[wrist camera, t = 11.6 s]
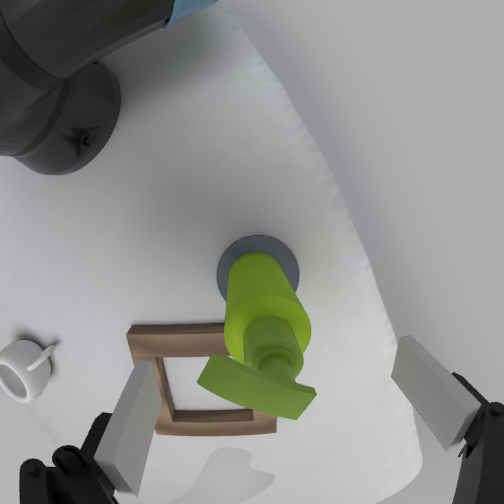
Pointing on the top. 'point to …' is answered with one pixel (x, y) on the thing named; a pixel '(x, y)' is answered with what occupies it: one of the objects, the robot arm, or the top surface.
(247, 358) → the soap dispenser
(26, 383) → the mug
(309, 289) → the top surface
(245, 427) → the pocket frame
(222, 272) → the coaster
